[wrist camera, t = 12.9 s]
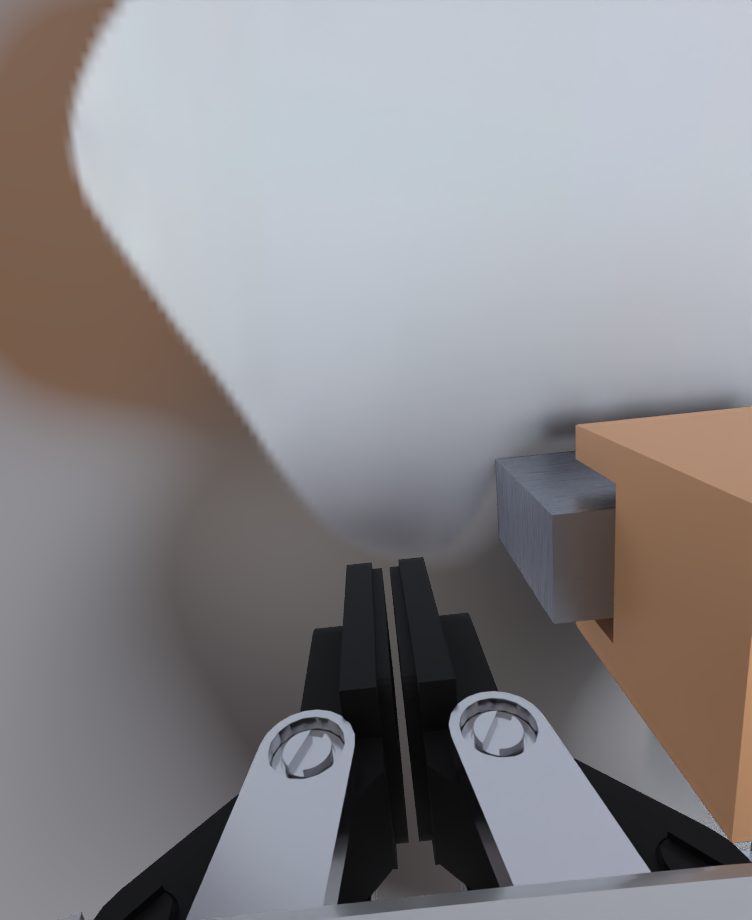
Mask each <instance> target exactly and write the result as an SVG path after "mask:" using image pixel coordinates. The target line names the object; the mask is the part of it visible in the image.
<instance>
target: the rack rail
mask: <svg viewBox="0 0 752 920" xmlns="http://www.w3.org/2000/svg"><path fill="white" fill-rule="evenodd" d="M495 460H496V483H497V506H498V527H499V528H498V529H499V540H500V541H501V542H502V544H503V546H504V547H505V549H506V550H507V552H508V554H509V555H510V556H511V558H512V560H513V561H514V563H515V564H516V566H517V567H518V569H519V570H520V572H521V574H522V575H523V577H524V578H525V580H526V582H527V583H528V585H529V586H530V588H531V589H532V591H533V592H534V594H535V595H536V597H537V599H538V600H539V601H540V603H541V605H542V606H543V608H544V609H545V611H546V613H547V614H548V616H549V617H550V619H551V620H552V622H553V624H559V623H569V622H578V621H588V620H598V619H608V618H614V572H615V518H616V483H614V482H613V481H611V480H609V479H608V478H606V477H604V476H603V475H601V474H599V473H598V472H596V471H595V470H593V469H591V468H590V467H588V466H586V465H585V464H583V463H581V462H580V461H578V460H577V459H576V451H569V452H560V453H550V454H541V455H531V456H521V457H511V458H502V459H495Z"/></svg>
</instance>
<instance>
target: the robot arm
mask: <svg viewBox="0 0 752 920" xmlns="http://www.w3.org/2000/svg"><path fill="white" fill-rule="evenodd" d="M390 576H391V586H392V595H393V605H394V615H395V624H396V634H397V643H398V653H399V663H400V672H401V681H402V690H403V700H404V708H405V718H406V726H407V736H408V745H409V753H410V762H411V771H412V780H413V789H414V798H415V807H416V816H417V825H418V833H419V841H428V840H432V843H433V851H434V858H435V864H436V865H438V864H440V865H442V866H443V867H444V868H445V869H447V870H448V871H449V872H450V873H451V874H453V875H454V876H455V877H456V878H458V879H459V880H460V881H461V887H462V892H453V893H442V894H434V895H424V896H414V897H405V898H395V899H386V900H377V899H376V898H377V896H376V889H377V888H378V887H379V885H380V884H381V883H382V882H383V880H384V879H385V878H386V877H387V876H388V874H389V873H390V872H391V871H392V869H398V865H397V850H396V844H399V843H408V842H409V841H408V829H407V818H406V807H405V797H404V786H403V774H402V763H401V753H400V742H399V730H398V721H397V720H398V719H397V708H396V697H395V687H394V677H393V667H392V659H391V649H390V640H389V630H388V621H387V612H386V603H385V593H384V584H383V576H382V568H379V569H372V563H364V564H354V565H347V570H346V587H345V602H344V618H343V626H338V627H329V628H318V629H315V630H314V632H313V637H312V643H311V649H310V655H309V662H308V668H307V674H306V680H305V686H304V693H303V699H302V706H301V712H300V713H297V714H294V715H291V716H289V717H287V718H286V719H284V720H282V721H281V722H279V723H278V724H276V725H275V726H274V727H273V728H272V729H271V730H270V731H269V732H268V733H267V734H266V736H265V738H264V739H263V741H262V743H261V744H260V746H259V749H258V751H257V754H256V756H255V758H254V760H253V763H252V765H251V767H250V770H249V772H248V774H247V777H246V779H245V782H244V784H243V786H242V789H241V791H240V793H239V794H238V795H237V796H236V797H234V798H233V799H232V800H231V801H229V802H228V803H227V804H226V805H225V806H223V807H222V808H221V809H220V810H218V811H217V812H216V813H215V814H213V815H212V816H211V817H210V818H209V819H207V820H206V821H205V822H204V823H202V824H201V825H200V826H199V827H197V828H196V829H195V830H194V831H192V832H191V833H190V834H189V835H188V836H186V837H185V838H184V839H183V840H181V841H180V842H179V843H178V844H176V845H175V846H174V847H173V848H172V849H170V850H169V851H168V852H167V853H165V854H164V855H163V856H162V857H160V858H159V859H158V860H157V861H156V862H154V863H153V864H152V865H151V866H149V867H148V868H147V869H146V870H145V871H143V872H142V873H141V874H140V875H138V876H137V877H136V878H135V879H133V880H132V881H131V882H130V883H128V884H127V885H126V886H125V887H123V888H122V889H121V890H120V891H119V892H118V893H117V894H116V895H115V896H114V897H113V898H112V899H111V900H110V901H109V902H108V903H107V904H105V905H104V906H103V908H102V909H101V910H100V912H99V913H98V914H97V916H96V917H95V918H93V919H90V920H752V841H751V850H750V851H746V850H739V849H738V848H737V847H736V846H735V845H734V844H733V843H732V842H730V841H729V840H728V839H726V838H724V837H723V836H721V835H720V834H718V833H717V832H715V831H713V830H712V829H710V828H709V827H707V826H705V825H703V824H701V823H699V822H697V821H695V820H693V819H691V818H689V817H687V816H685V815H683V814H681V813H679V812H677V811H676V810H674V809H672V808H670V807H668V806H666V805H664V804H662V803H660V802H658V801H656V800H654V799H652V798H650V797H648V796H646V795H644V794H642V793H641V792H639V791H637V790H635V789H633V788H631V787H629V786H627V785H625V784H623V783H621V782H619V781H617V780H615V779H613V778H611V777H609V776H607V775H606V774H603V773H601V772H600V771H598V770H596V769H594V768H592V767H590V766H588V765H586V764H584V763H582V762H580V761H578V760H576V759H574V758H573V757H572V756H571V754H570V753H569V751H568V750H567V749H566V747H565V746H564V744H563V743H562V741H561V740H560V738H559V737H558V735H557V734H556V732H555V731H554V730H553V728H552V727H551V725H550V724H549V722H548V721H547V719H546V718H545V716H544V715H543V714H542V713H541V712H540V711H539V710H538V709H537V708H536V707H535V705H533V704H532V703H530V702H528V701H527V700H525V699H524V698H522V697H519V696H516V695H513V694H510V693H506V692H498V690H497V687H496V685H495V682H494V679H493V677H492V674H491V671H490V669H489V666H488V663H487V661H486V658H485V656H484V653H483V650H482V647H481V645H480V642H479V639H478V637H477V634H476V631H475V629H474V626H473V623H472V621H471V618H470V616H469V614H468V613H462V614H451V615H443V616H439V615H438V611H437V607H436V604H435V600H434V596H433V592H432V589H431V585H430V581H429V577H428V574H427V570H426V566H425V562H424V559H423V557H420V558H411V559H401V560H399V566H398V567H390ZM58 920H84V917H83V914H82V912H79V913H76V914H73V915H70V916H67V917H64V918H62V919H58Z"/></svg>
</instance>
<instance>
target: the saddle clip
mask: <svg viewBox="0 0 752 920" xmlns="http://www.w3.org/2000/svg"><path fill="white" fill-rule="evenodd" d="M576 459H577V460H578V461H580V462H581V463H583V464H585V465H586V466H588V467H590V468H591V469H593V470H595V471H596V472H598V473H599V474H601V475H603V476H604V477H606V478H608V479H609V480H611V481H613V482H614V483H616V518H615V572H614V618H608V619H598V620H588V621H578V622H576V626H577V627H578V629H579V630H580V632H581V633H582V634H583V636H584V637H585V638H586V640H587V641H588V643H589V644H590V646H591V647H592V648H593V650H594V651H595V653H596V654H597V655H598V657H599V658H600V660H601V661H602V662H603V663H604V665H605V667H606V668H607V669H608V671H609V672H610V673H611V675H612V676H613V678H614V679H615V681H616V682H617V683H618V685H619V686H620V688H621V689H622V690H623V692H624V693H625V695H626V696H627V697H628V699H629V700H630V702H631V703H632V704H633V706H634V707H635V709H636V710H637V711H638V713H639V714H640V716H641V717H642V718H643V720H644V721H645V723H646V724H647V725H648V727H649V728H650V730H651V731H652V732H653V734H654V735H655V737H656V738H657V739H658V741H659V742H660V744H661V745H662V746H663V748H664V749H665V751H666V752H667V753H668V755H669V756H670V758H671V759H672V760H673V762H674V763H675V765H676V766H677V767H678V769H679V770H680V772H681V773H682V774H683V776H684V777H685V779H686V780H687V781H688V783H689V784H690V786H691V787H692V788H693V790H694V791H695V793H696V794H697V795H698V797H699V798H700V800H701V801H702V802H703V804H704V805H705V807H706V808H707V809H708V811H709V812H710V814H711V815H712V816H713V818H714V819H715V821H716V822H717V823H718V825H719V826H720V828H721V829H722V830H723V832H724V833H725V835H726V836H727V837H728V839H729V840H730V842H732V843H737V842H747V841H752V406H750V407H740V408H730V409H721V410H711V411H702V412H692V413H682V414H673V415H663V416H654V417H644V418H634V419H625V420H615V421H605V422H596V423H586V424H577V425H576Z"/></svg>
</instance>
